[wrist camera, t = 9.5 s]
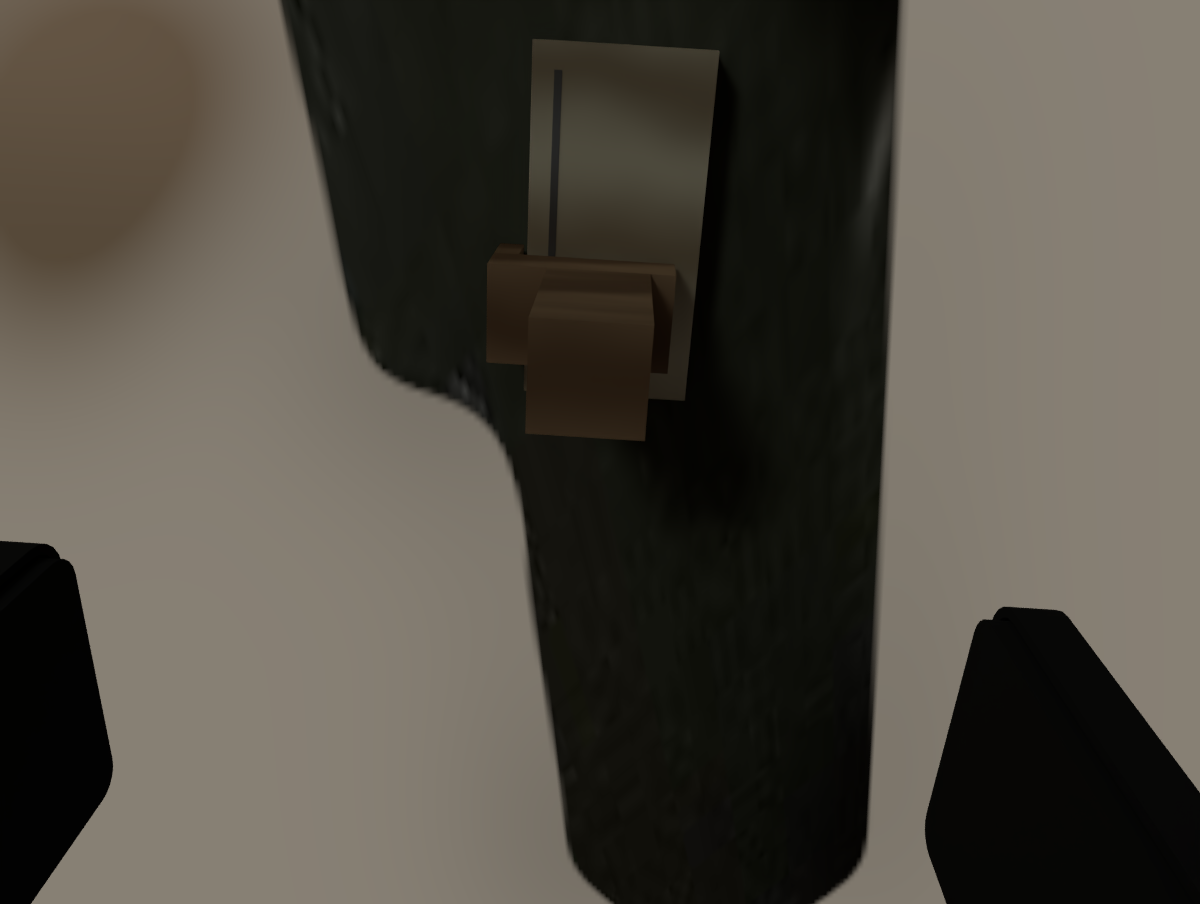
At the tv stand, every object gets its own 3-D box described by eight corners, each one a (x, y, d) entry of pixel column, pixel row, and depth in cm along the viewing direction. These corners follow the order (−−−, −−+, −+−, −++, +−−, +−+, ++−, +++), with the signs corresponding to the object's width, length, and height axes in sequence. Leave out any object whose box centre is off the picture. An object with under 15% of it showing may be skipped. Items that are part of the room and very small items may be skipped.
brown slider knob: (500, 243, 40) (455, 312, 30) (672, 254, 40) (685, 327, 30) (499, 334, 41) (457, 428, 31) (664, 344, 41) (674, 443, 31)
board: (537, 39, 37) (532, 38, 35) (715, 50, 37) (719, 50, 35) (528, 375, 43) (523, 390, 41) (682, 385, 43) (684, 400, 41)
